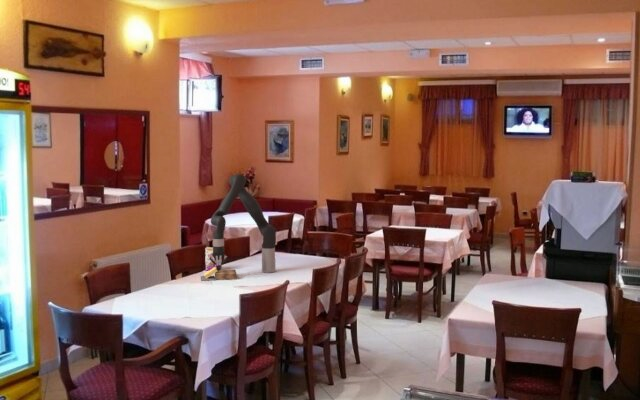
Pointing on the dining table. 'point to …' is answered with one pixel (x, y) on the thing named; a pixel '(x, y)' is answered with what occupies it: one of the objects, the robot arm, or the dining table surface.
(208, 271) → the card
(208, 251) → the candy bar box
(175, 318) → the dining table surface
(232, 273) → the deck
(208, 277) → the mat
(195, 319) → the dining table surface
